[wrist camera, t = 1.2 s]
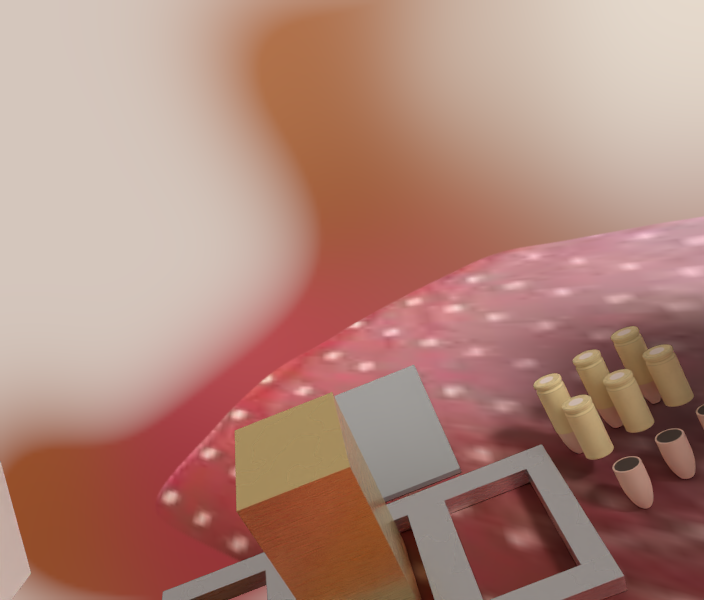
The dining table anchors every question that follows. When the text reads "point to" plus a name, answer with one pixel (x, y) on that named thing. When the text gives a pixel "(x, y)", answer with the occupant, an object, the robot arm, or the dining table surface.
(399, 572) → the block
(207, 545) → the dining table surface
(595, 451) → the ammunition
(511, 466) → the rail
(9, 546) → the robot arm
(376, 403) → the mat
